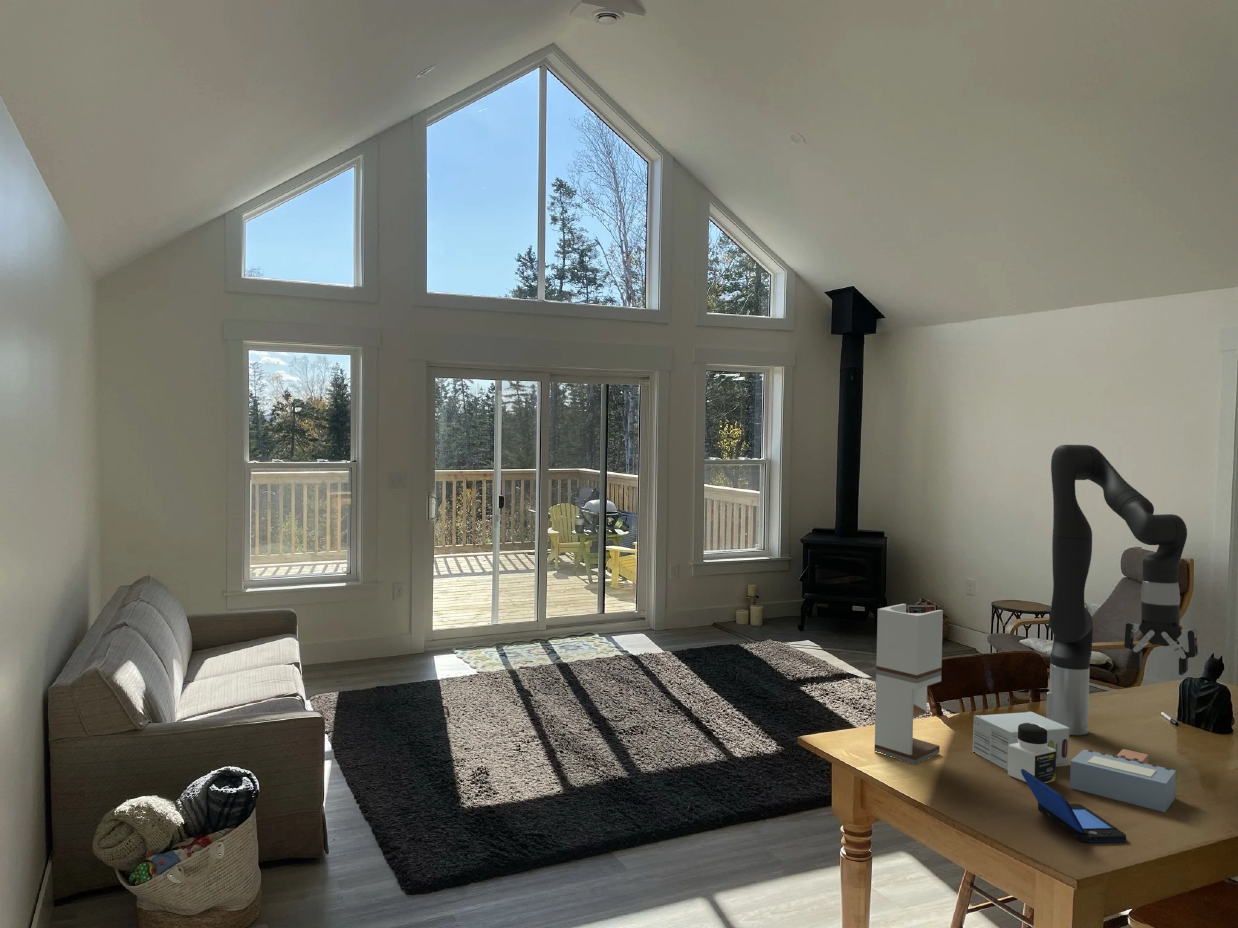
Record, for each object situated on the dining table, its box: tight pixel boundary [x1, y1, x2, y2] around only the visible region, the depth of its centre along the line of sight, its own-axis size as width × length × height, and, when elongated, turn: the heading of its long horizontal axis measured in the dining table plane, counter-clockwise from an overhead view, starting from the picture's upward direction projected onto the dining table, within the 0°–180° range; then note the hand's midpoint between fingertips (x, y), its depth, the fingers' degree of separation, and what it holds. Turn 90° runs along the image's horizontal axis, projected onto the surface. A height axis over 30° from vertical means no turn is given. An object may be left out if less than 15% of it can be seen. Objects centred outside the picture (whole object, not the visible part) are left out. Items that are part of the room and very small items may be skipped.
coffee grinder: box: [874, 603, 944, 766], centre depth 210 cm, size 11×11×35 cm
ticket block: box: [1069, 749, 1177, 813], centre depth 188 cm, size 18×10×6 cm, turn 47°
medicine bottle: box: [1007, 723, 1057, 784], centre depth 196 cm, size 7×7×12 cm
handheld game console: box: [1021, 769, 1127, 844], centre depth 172 cm, size 16×13×9 cm
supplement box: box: [971, 711, 1070, 772], centre depth 208 cm, size 17×13×9 cm
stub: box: [1116, 748, 1149, 764], centre depth 195 cm, size 5×6×6 cm
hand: (1160, 671), depth 201 cm, fingers open, 8 cm apart
